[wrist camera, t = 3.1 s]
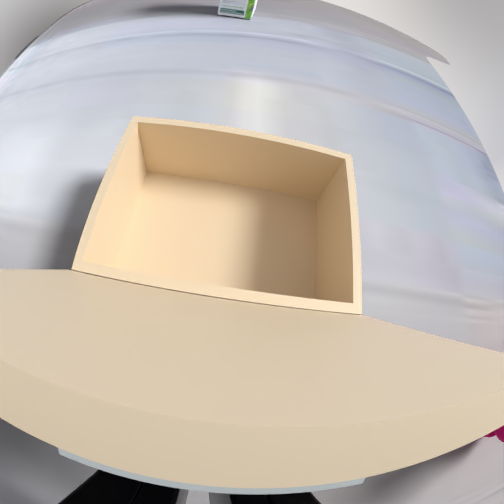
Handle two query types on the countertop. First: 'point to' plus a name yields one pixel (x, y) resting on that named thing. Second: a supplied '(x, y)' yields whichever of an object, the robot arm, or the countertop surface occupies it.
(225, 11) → the syrup box
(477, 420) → the lid
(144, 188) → the carton
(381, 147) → the countertop surface
